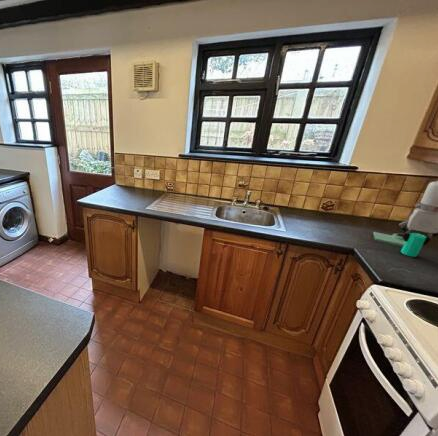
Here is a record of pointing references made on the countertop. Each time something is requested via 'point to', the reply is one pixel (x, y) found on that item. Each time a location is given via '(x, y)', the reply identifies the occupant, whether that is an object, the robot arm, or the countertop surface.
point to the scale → (389, 239)
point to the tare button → (400, 234)
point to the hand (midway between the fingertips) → (414, 241)
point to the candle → (413, 244)
